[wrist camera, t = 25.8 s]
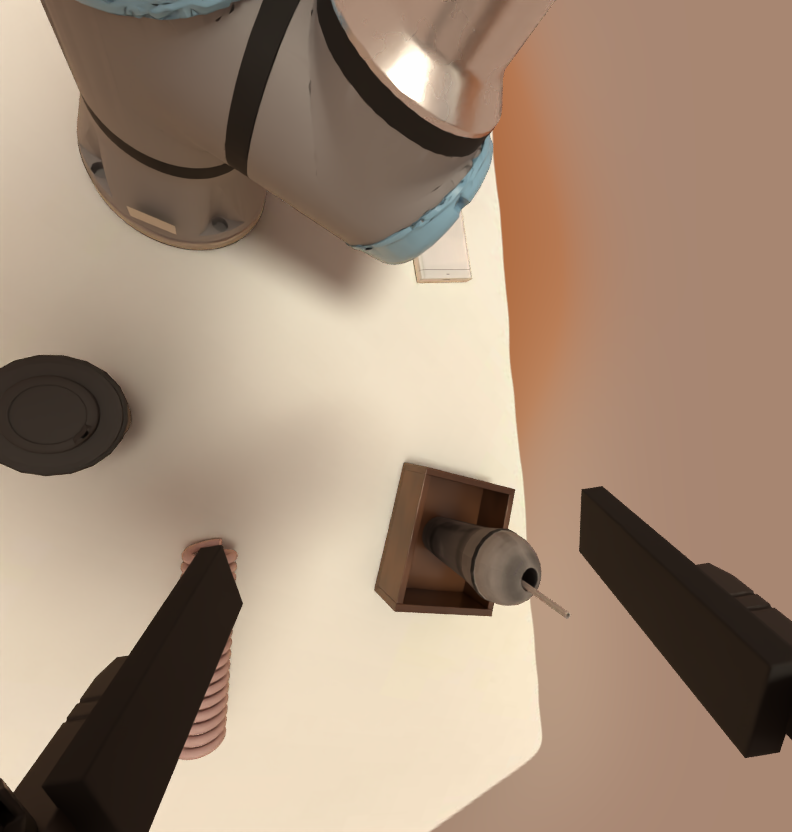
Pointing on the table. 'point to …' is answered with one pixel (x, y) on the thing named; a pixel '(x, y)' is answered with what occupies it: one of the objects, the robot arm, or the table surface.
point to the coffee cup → (58, 415)
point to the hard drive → (445, 258)
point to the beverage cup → (488, 560)
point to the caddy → (413, 563)
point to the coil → (218, 687)
